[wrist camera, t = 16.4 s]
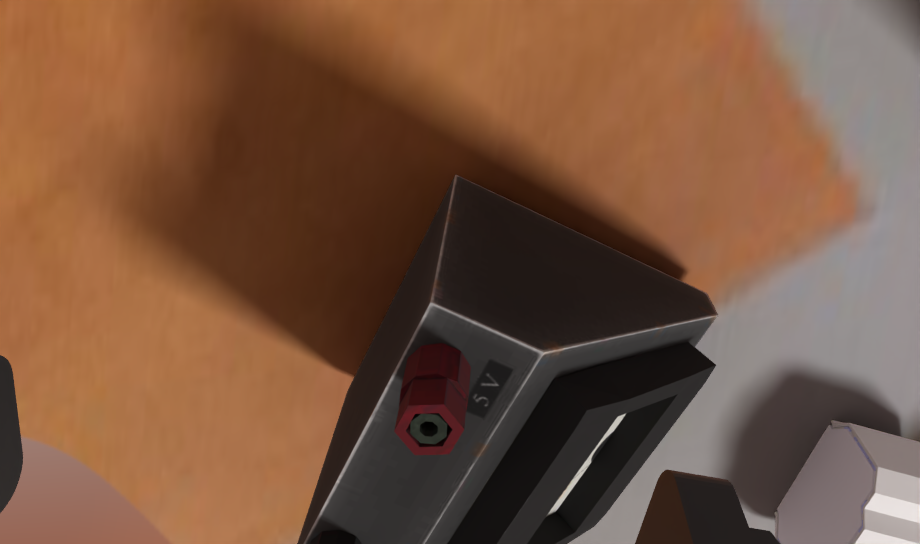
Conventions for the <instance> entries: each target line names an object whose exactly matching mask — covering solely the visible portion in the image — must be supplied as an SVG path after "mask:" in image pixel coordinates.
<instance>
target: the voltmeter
mask: <svg viewBox="0 0 920 544" xmlns="http://www.w3.org/2000/svg"><path fill="white" fill-rule="evenodd" d="M717 316H718V314H717V312H716V310H715V308H714V306H713V304H712V302H711V300H710V298H709V296H708V294H707V293H705V292H703V291H701V290H699V289H697V288H695V287H693V286H690V285H688V284H686V283H684V282H682V281H680V280H678V279H676V278H674V277H671V276H669V275H667V274H665V273H663V272H661V271H659V270H657V269H655V268H652V267H650V266H648V265H646V264H644V263H642V262H640V261H638V260H636V259H633V258H631V257H629V256H627V255H625V254H623V253H621V252H619V251H616V250H614V249H612V248H610V247H608V246H606V245H604V244H602V243H600V242H597V241H595V240H593V239H591V238H589V237H587V236H585V235H583V234H581V233H578V232H576V231H574V230H572V229H570V228H568V227H566V226H564V225H562V224H559V223H557V222H555V221H553V220H551V219H549V218H547V217H545V216H543V215H540V214H538V213H536V212H534V211H532V210H530V209H528V208H526V207H524V206H521V205H519V204H517V203H515V202H513V201H511V200H509V199H507V198H504V197H502V196H500V195H498V194H496V193H494V192H492V191H490V190H488V189H485V188H483V187H481V186H479V185H477V184H475V183H473V182H471V181H468V180H466V179H464V178H462V177H460V176H458V175H455V177H454V179H453V181H452V183H451V185H450V187H449V189H448V191H447V193H446V195H445V197H444V199H443V201H442V203H441V205H440V207H439V209H438V211H437V213H436V215H435V217H434V219H433V221H432V223H431V225H430V227H429V229H428V231H427V233H426V235H425V237H424V239H423V241H422V243H421V245H420V247H419V249H418V251H417V253H416V255H415V257H414V259H413V261H412V263H411V265H410V267H409V269H408V271H407V273H406V275H405V277H404V279H403V281H402V283H401V285H400V287H399V289H398V291H397V293H396V295H395V297H394V299H393V301H392V303H391V305H390V307H389V309H388V311H387V313H386V315H385V317H384V319H383V321H382V323H381V325H380V327H379V329H378V331H377V333H376V335H375V337H374V339H373V341H372V343H371V345H370V347H369V349H368V351H367V353H366V355H365V357H364V359H363V361H362V363H361V365H360V367H359V369H358V371H357V373H356V375H355V377H354V379H353V381H352V383H351V385H350V387H349V389H348V391H347V394H346V397H345V400H344V403H343V406H342V410H341V413H340V416H339V419H338V422H337V425H336V428H335V431H334V434H333V437H332V440H331V443H330V446H329V449H328V452H327V455H326V458H325V461H324V464H323V467H322V470H321V473H320V476H319V480H318V483H317V486H316V489H315V492H314V495H313V498H312V501H311V504H310V507H309V510H308V513H307V516H306V519H305V522H304V525H303V528H302V531H301V534H300V537H299V540H298V543H297V544H567V543H569V542H571V541H572V540H574V539H575V538H577V537H578V536H580V535H582V534H583V533H585V532H586V531H588V530H589V529H591V528H592V527H594V526H595V525H596V524H597V523H598V522H599V521H600V520H601V518H602V517H603V516H604V515H605V514H606V513H607V511H608V510H609V509H610V507H611V506H612V505H613V504H614V502H615V501H616V500H617V498H618V497H619V496H620V494H621V493H622V492H623V490H624V489H625V488H626V486H627V485H628V484H629V482H630V481H631V480H632V478H633V477H634V476H635V475H636V473H637V472H638V471H639V469H640V468H641V467H642V465H643V464H644V463H645V461H646V460H647V459H648V457H649V456H650V455H651V453H652V452H653V451H654V449H655V448H656V447H657V446H658V444H659V443H660V442H661V440H662V439H663V438H664V436H665V435H666V434H667V432H668V431H669V430H670V428H671V427H672V426H673V424H674V423H675V422H676V420H677V419H678V418H679V416H680V415H681V414H682V413H683V411H684V410H685V409H686V407H687V406H688V405H689V403H690V402H691V401H692V399H693V398H694V397H695V395H696V394H697V393H698V391H699V390H700V389H701V387H702V386H703V385H704V383H705V382H706V380H707V379H708V377H709V376H710V374H711V372H712V371H713V369H714V368H715V366H716V365H715V364H714V363H713V362H712V361H711V360H709V359H708V358H707V357H706V356H705V355H703V354H702V353H701V352H700V351H699V350H697V349H696V348H695V346H696V345H697V344H698V342H699V341H700V339H701V338H702V337H703V335H704V334H705V333H706V331H707V330H708V328H709V327H710V326H711V324H712V323H713V322H714V320H715V319H716V318H717Z"/></svg>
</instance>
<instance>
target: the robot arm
mask: <svg viewBox="0 0 920 544" xmlns="http://www.w3.org/2000/svg"><path fill="white" fill-rule="evenodd" d="M22 464H23V452H22V444H21V435H20V427H19V419H18V411H17V403H16V395H15V387H14V379H13V372H12V368H11V365H10V363H9V361H8V360H7V359H6V358H5V357H3V356H1V355H0V512H2V510H3V509H4V508H5V506H6V505H7V504H8V502H9V500H10V499H11V497H12V495H13V493H14V491H15V489H16V486H17V484H18V481H19V478H20V474H21V470H22ZM635 544H780V543H779V541H778V540H777V539H776V538H775V537H774V536H773V534H772V533H771V532H770V531H766V530H760V529H754V528H749V526H748V524H747V521H746V518H745V516H744V513H743V510H742V508H741V505H740V502H739V500H738V497H737V494H736V491H735V489H734V487H733V485H732V484H731V483H730V482H729V481H728V480H725V479H719V478H713V477H707V476H701V475H695V474H690V473H684V472H678V471H672V470H665V471H664V472H663V473H662V474H661V475H660V477H659V479H658V481H657V484H656V487H655V489H654V492H653V495H652V498H651V501H650V503H649V506H648V509H647V512H646V515H645V517H644V520H643V523H642V526H641V529H640V531H639V534H638V537H637V540H636V543H635Z"/></svg>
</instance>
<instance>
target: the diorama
mask: <svg viewBox="0 0 920 544" xmlns="http://www.w3.org/2000/svg"><path fill="white" fill-rule="evenodd" d="M831 423H832V425H828V427H827V429H826V430H825V432H824V433H823V435H822V437H821V438H820V440H819V442H818V443H817V445H816V446H815V448H814V450H813V451H812V453H811V454H810V456H809V458H808V459H807V461H806V463H805V464H804V466H803V467H802V469H801V471H800V472H799V474H798V476H797V477H796V479H795V480H794V482H793V484H792V485H791V487H790V489H789V490H788V492H787V493H786V495H785V497H784V498H783V500H782V501H781V503H780V505H779V506H778V508H777V511H776V512H775V513H774V514H775V516H776V523H775V538H776V539H777V540H778V541H779V543H780V544H920V442H918V441H915V440H911V439H907V438H903V437H900V436H896V435H892V434H889V433H885V432H881V431H878V430H874V429H870V428H867V427H863V426H859V425H856V424H852V423H842V422H838V421H835V420H831Z"/></svg>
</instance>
